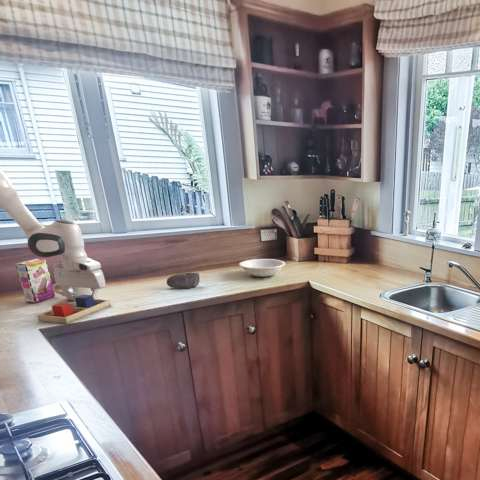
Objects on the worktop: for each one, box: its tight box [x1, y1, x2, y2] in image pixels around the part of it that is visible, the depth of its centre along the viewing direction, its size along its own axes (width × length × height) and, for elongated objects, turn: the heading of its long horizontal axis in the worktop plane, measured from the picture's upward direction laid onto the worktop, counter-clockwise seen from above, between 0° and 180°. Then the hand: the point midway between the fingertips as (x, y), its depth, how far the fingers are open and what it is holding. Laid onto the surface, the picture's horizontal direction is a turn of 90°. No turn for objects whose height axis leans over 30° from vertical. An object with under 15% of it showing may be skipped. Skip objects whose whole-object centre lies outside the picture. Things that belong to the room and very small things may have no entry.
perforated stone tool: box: [166, 272, 201, 289], centre depth 222 cm, size 15×5×7 cm, turn 108°
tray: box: [37, 298, 112, 325], centre depth 185 cm, size 12×24×2 cm, turn 169°
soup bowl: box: [238, 258, 286, 278], centre depth 249 cm, size 24×24×7 cm
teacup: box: [52, 282, 92, 302], centre depth 201 cm, size 14×11×8 cm
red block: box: [51, 302, 73, 317], centre depth 179 cm, size 4×4×4 cm
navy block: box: [74, 295, 95, 308], centre depth 189 cm, size 4×4×4 cm
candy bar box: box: [15, 258, 56, 304], centre depth 197 cm, size 11×5×16 cm, turn 172°
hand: (83, 297), depth 188 cm, fingers open, 8 cm apart
